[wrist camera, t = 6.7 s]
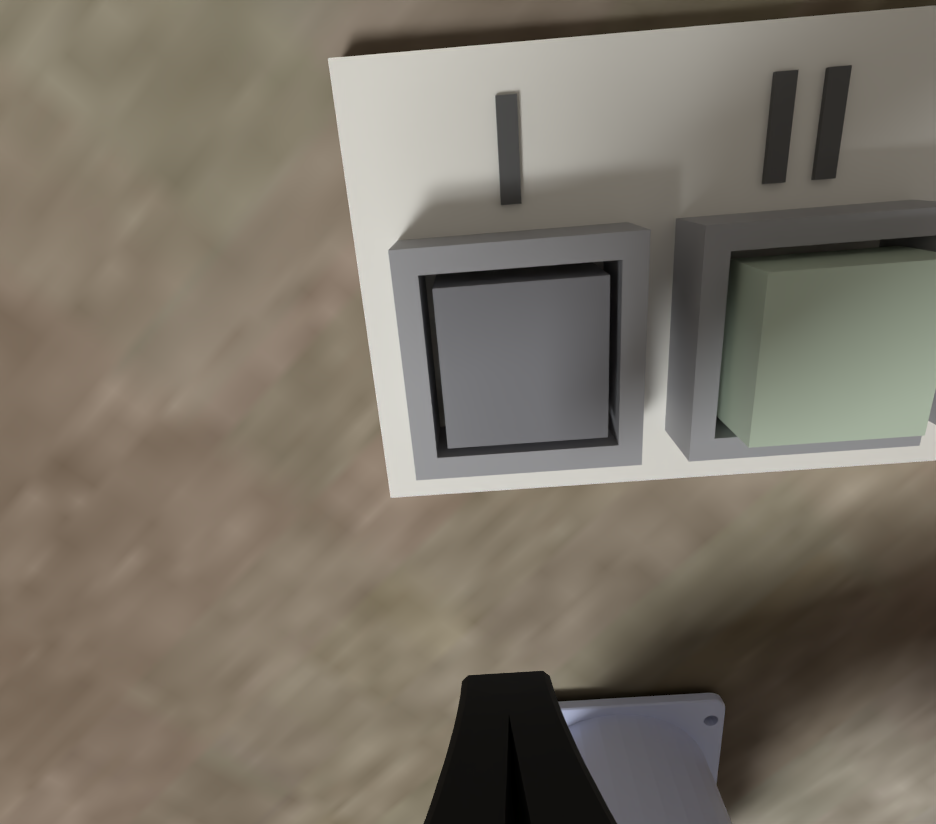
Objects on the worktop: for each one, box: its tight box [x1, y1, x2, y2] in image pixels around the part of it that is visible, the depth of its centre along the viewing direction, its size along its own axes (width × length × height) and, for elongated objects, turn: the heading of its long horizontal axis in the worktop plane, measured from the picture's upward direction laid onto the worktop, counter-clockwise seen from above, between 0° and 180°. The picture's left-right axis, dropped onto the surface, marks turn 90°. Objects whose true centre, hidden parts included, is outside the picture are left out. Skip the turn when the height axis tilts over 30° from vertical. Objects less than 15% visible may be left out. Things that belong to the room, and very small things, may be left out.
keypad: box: [328, 5, 936, 498], centre depth 15 cm, size 12×22×3 cm, turn 94°
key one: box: [432, 262, 610, 449], centre depth 15 cm, size 4×4×2 cm
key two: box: [717, 246, 936, 448], centre depth 14 cm, size 4×4×2 cm
